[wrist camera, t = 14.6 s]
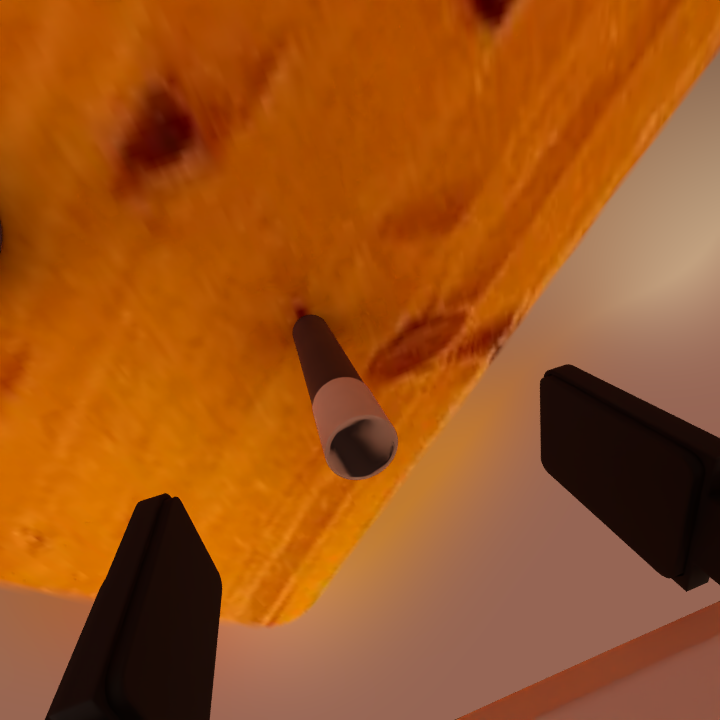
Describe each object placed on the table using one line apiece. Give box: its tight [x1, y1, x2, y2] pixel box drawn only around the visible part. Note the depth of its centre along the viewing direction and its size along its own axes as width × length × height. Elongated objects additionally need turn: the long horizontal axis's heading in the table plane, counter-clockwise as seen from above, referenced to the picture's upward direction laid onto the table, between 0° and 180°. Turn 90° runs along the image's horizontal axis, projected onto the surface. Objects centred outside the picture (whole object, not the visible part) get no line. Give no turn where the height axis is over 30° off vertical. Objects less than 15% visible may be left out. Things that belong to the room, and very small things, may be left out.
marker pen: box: [293, 315, 398, 480], centre depth 18 cm, size 2×2×13 cm
